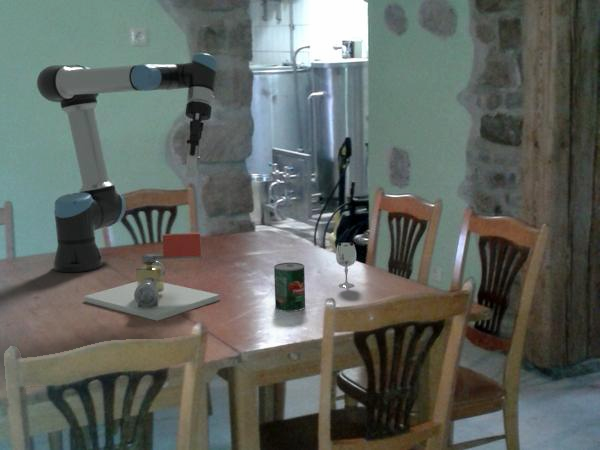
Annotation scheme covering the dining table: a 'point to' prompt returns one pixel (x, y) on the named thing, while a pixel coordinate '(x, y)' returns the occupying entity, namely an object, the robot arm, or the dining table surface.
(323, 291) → the dining table surface
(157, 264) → the valve body
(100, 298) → the plate
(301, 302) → the canned tomato
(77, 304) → the dining table surface
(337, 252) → the wineglass
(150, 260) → the valve lever
